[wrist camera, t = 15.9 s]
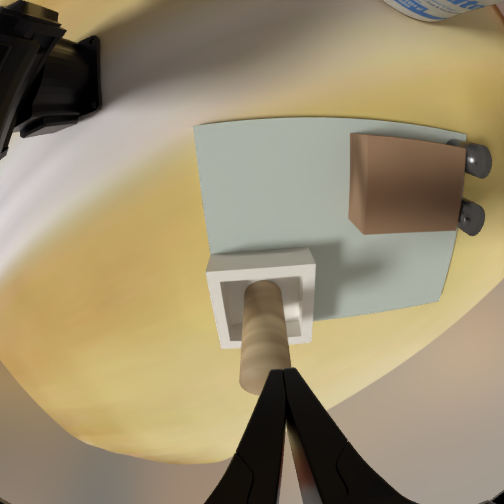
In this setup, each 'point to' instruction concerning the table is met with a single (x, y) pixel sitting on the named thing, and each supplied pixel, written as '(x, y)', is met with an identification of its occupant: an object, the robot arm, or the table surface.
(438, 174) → the cardboard brown brick
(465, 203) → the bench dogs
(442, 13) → the supplement tub
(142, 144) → the table surface
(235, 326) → the tray
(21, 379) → the table surface
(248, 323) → the dowel
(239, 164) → the mat
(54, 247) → the table surface
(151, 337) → the table surface
